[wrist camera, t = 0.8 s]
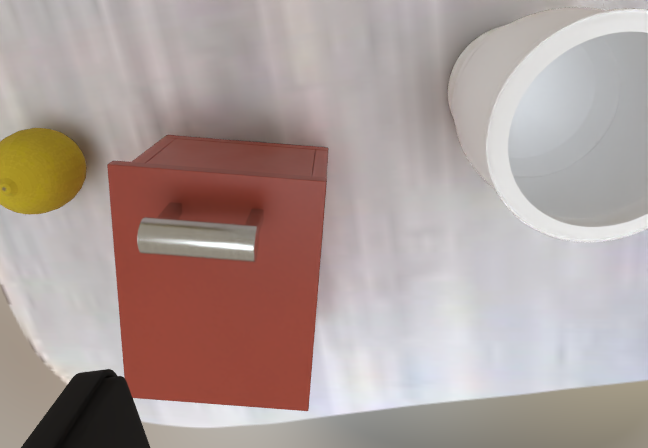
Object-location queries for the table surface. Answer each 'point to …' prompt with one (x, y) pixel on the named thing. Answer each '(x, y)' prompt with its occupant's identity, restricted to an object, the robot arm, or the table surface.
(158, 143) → the bin
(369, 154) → the table surface
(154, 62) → the table surface
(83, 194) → the table surface
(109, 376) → the robot arm
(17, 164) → the lemon
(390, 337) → the table surface
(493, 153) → the jar
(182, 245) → the bin lid
